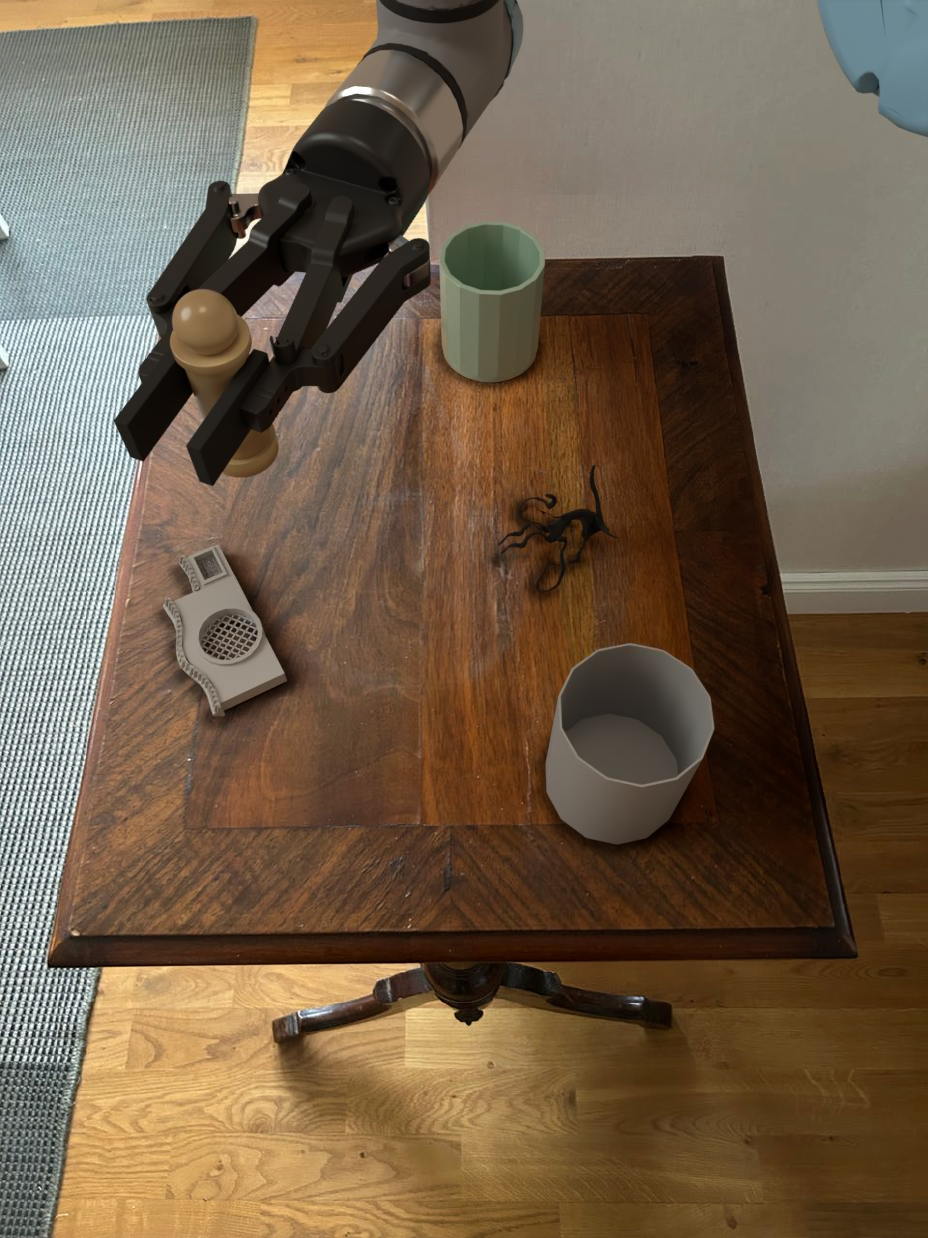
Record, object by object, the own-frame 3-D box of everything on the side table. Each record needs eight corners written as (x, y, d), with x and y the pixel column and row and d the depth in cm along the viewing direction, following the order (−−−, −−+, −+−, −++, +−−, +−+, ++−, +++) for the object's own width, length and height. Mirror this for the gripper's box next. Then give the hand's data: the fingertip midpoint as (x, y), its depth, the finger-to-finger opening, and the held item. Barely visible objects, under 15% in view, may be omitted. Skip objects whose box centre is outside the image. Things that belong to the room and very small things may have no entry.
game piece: (290, 433, 56) (253, 279, 47) (260, 486, 54) (217, 336, 45) (228, 416, 57) (180, 260, 47) (197, 467, 55) (140, 316, 45)
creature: (514, 608, 70) (626, 578, 69) (500, 571, 66) (620, 538, 65) (493, 517, 74) (599, 487, 73) (478, 475, 69) (591, 443, 68)
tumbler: (538, 314, 83) (545, 222, 75) (536, 384, 79) (544, 295, 71) (445, 310, 83) (443, 219, 75) (439, 380, 79) (436, 292, 71)
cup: (687, 732, 64) (722, 661, 56) (671, 857, 61) (705, 801, 52) (557, 705, 65) (571, 631, 57) (532, 825, 61) (543, 766, 53)
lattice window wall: (223, 551, 71) (143, 585, 70) (217, 536, 70) (135, 571, 68) (291, 685, 66) (207, 725, 65) (287, 673, 65) (200, 714, 63)
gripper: (503, 246, 60) (327, 552, 49) (261, 177, 63) (47, 452, 53) (507, 131, 54) (306, 456, 43) (237, 61, 57) (-12, 347, 46)
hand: (164, 453), depth 48 cm, fingers closed on game piece, 3 cm apart
